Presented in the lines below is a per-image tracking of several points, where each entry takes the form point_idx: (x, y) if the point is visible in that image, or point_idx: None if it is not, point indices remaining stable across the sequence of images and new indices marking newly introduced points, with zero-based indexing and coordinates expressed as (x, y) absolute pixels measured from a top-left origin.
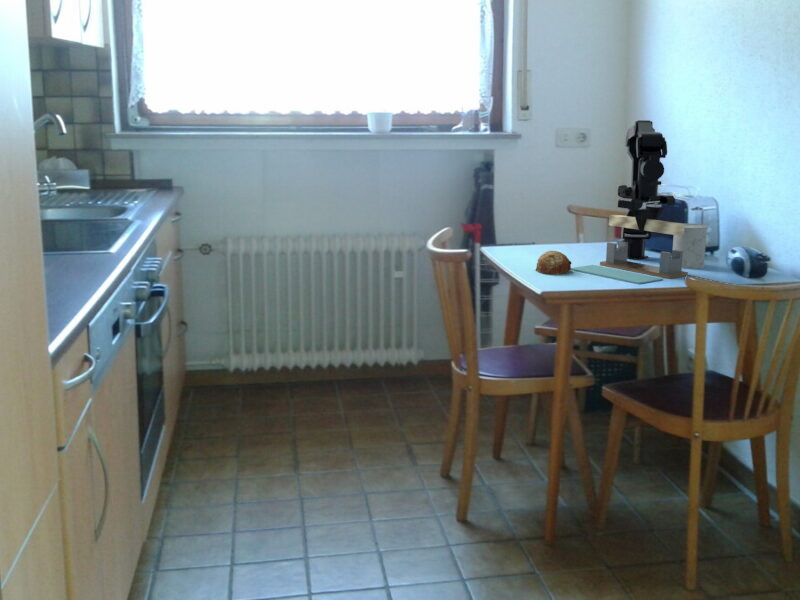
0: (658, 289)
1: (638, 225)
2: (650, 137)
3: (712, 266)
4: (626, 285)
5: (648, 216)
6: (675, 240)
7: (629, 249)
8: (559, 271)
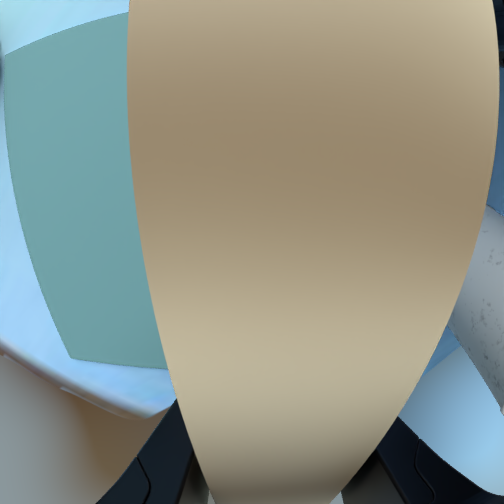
0: (90, 399)
1: (171, 417)
2: None
3: None
4: (39, 343)
5: (378, 494)
6: (496, 301)
7: None
8: None
